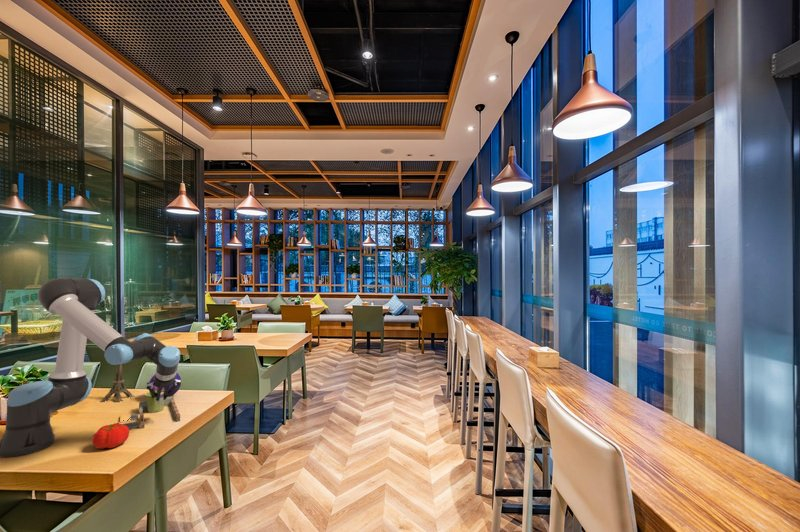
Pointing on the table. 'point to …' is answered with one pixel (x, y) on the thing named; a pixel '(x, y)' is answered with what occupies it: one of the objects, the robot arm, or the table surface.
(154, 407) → the plant pot
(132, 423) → the grey and wooden pieces
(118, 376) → the eiffel tower
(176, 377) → the decorative orb
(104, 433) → the tomato
